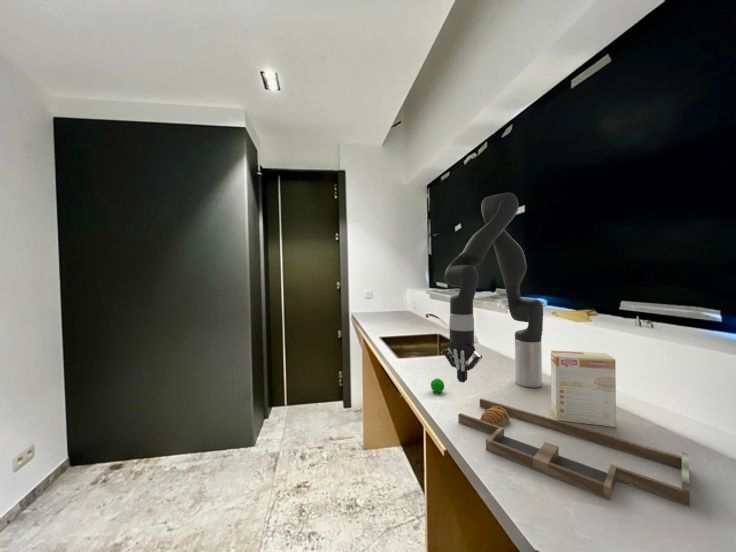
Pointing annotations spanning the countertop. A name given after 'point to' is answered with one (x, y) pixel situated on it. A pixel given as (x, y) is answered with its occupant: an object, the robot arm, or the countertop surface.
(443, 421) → the countertop surface
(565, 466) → the mats
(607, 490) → the lane
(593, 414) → the coffeecake box
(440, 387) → the polyhedron
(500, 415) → the pastry
